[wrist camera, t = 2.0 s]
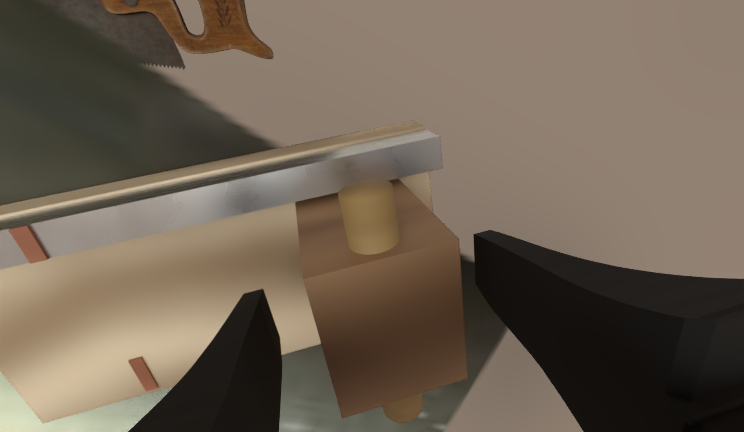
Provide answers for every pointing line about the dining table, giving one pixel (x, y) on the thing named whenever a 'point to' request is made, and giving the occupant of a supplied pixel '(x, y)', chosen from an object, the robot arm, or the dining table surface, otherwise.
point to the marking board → (171, 264)
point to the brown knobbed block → (383, 296)
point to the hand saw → (165, 27)
